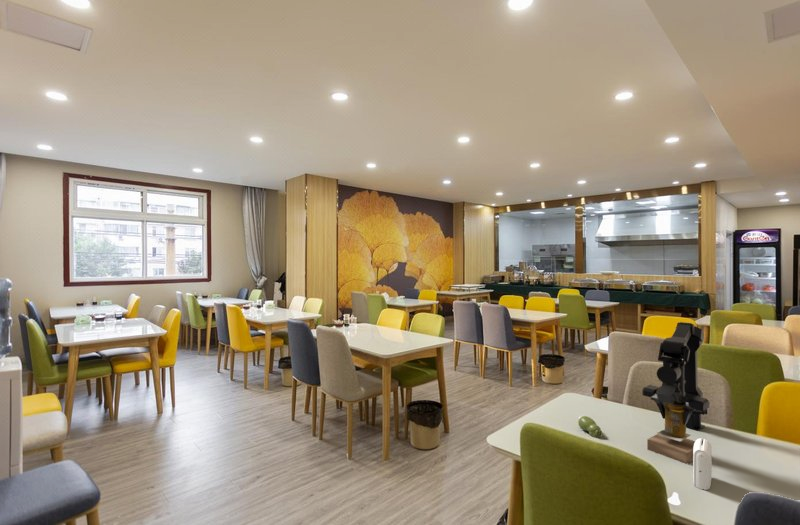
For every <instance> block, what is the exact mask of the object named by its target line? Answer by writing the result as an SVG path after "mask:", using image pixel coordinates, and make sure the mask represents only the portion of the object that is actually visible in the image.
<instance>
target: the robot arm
mask: <svg viewBox="0 0 800 525" xmlns="http://www.w3.org/2000/svg"><path fill="white" fill-rule="evenodd" d="M704 341H705V334H704V331H703V330H702V328H700V327H698V326H695V324H694V323H692V322H684V321H683V322H682V321H680V322H677V324H676V326H675V330H674V331H673V333H672V335H671V336H669V337H666V338H665V339H664V340H663V341H662V342H661V343H660V346H659V352H658V356H657V361H659V362H662V365H661V366H660V367H659V368H658V369H657V371H656V376H657V378H658V380H659V381H660V382H662V384H661V386H660V387H659V386H656V385H651V384H650V385H646V386H644V387H642V390H641V395H642V396H643V397H649V398H650V400H651V401H653V402H654V403H655V404H656V405H657V407H658V409H659V413H660V414H661V417H662V419H663V420H665V406H666V403H668V404H673V403H674V401H679V402H680V401H681V402H684V403H685V404H684V407H683V409H684V418H683V424H684V425H686V428H688V429H693V430H695V431H700V430H702V429H704V428H705V425H704V424H702V415H703V416H705V415H708V409H709V408H710V401H709V400H708V399H707V398H705V397H704V393H703V392H702V390H701V389H700V388H699V385H698V384H699V381H698V380H699V379H698V378H699V377H698V375H699V374H698V350H699V348H700V347H701V346H702V344H703V342H704Z"/></svg>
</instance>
